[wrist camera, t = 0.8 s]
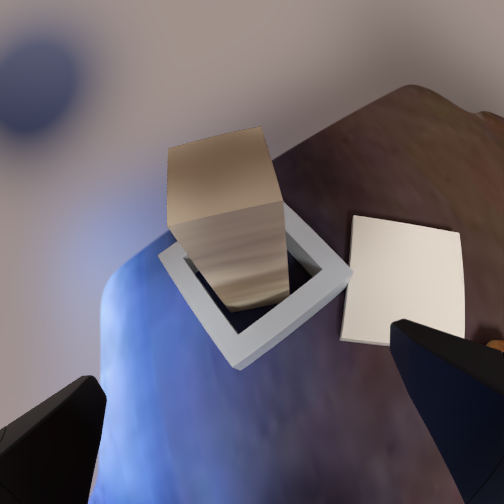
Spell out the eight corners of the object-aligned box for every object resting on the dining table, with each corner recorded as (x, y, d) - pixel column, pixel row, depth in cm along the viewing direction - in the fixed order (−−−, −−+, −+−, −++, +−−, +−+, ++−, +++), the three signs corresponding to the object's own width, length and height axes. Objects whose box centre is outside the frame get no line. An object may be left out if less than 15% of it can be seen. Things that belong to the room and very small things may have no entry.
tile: (457, 351, 18) (463, 348, 17) (339, 340, 20) (341, 337, 19) (454, 238, 22) (459, 233, 21) (351, 221, 24) (353, 215, 23)
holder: (346, 287, 22) (353, 271, 19) (240, 370, 20) (232, 367, 18) (266, 204, 26) (263, 182, 24) (171, 271, 25) (157, 255, 22)
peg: (289, 300, 22) (283, 200, 11) (230, 312, 22) (167, 226, 11) (278, 248, 24) (261, 126, 13) (223, 259, 24) (168, 148, 13)
